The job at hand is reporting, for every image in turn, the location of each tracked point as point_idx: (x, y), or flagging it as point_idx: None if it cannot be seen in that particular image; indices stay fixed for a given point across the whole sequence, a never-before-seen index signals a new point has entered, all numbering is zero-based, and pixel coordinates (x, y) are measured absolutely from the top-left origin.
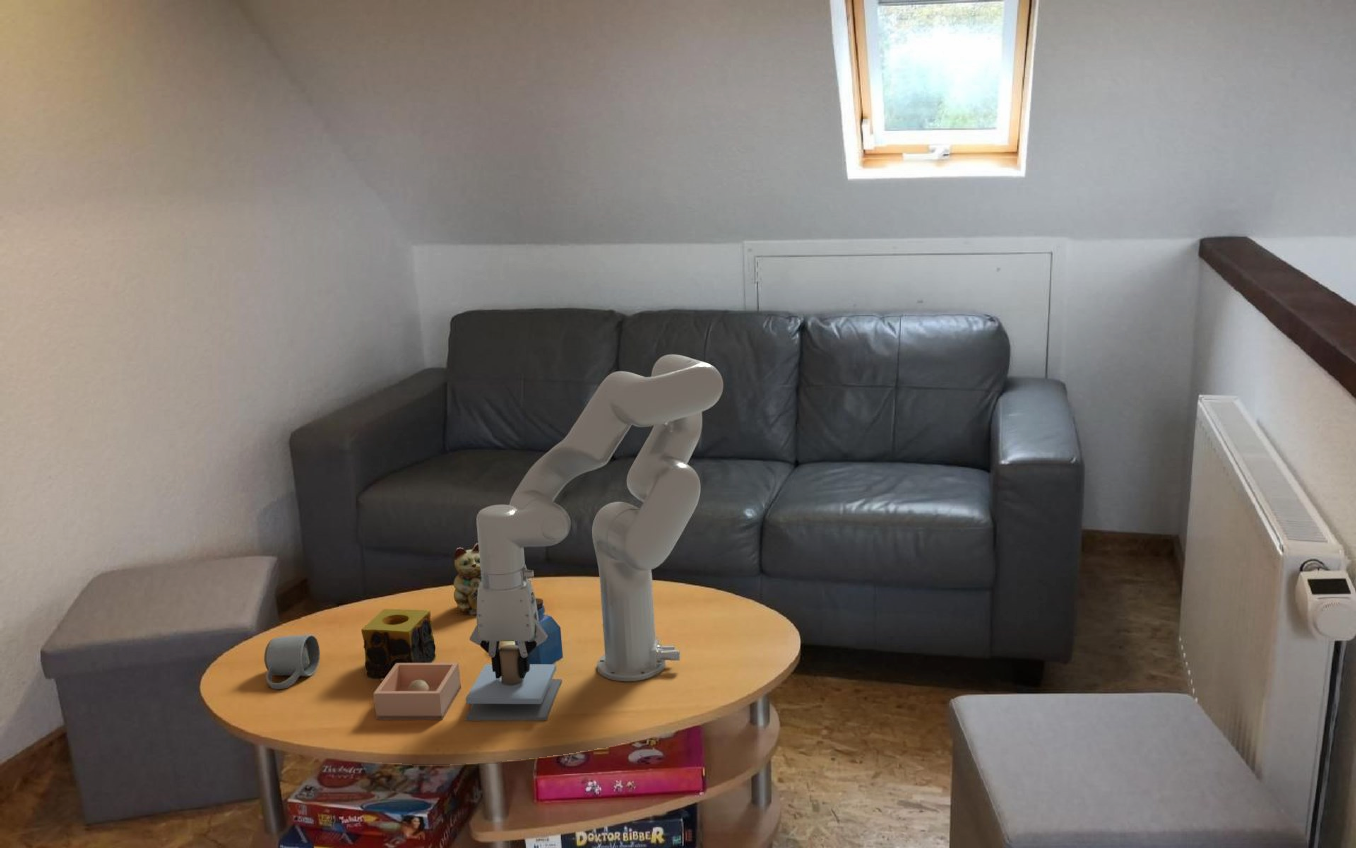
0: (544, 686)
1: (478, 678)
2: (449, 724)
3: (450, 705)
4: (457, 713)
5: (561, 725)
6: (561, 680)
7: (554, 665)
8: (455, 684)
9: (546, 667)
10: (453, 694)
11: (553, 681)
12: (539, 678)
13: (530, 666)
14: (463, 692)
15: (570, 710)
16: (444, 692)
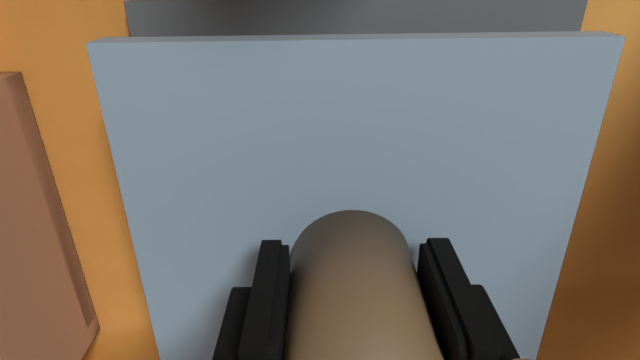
0: (541, 313)
1: (139, 240)
2: (143, 350)
3: (70, 238)
4: (134, 286)
5: (559, 353)
6: (584, 3)
7: (614, 54)
8: (6, 174)
9: (554, 90)
10: (41, 202)
11: (538, 29)
12: (510, 233)
13: (436, 75)
14: (60, 115)
15: (601, 263)
16: (33, 352)
